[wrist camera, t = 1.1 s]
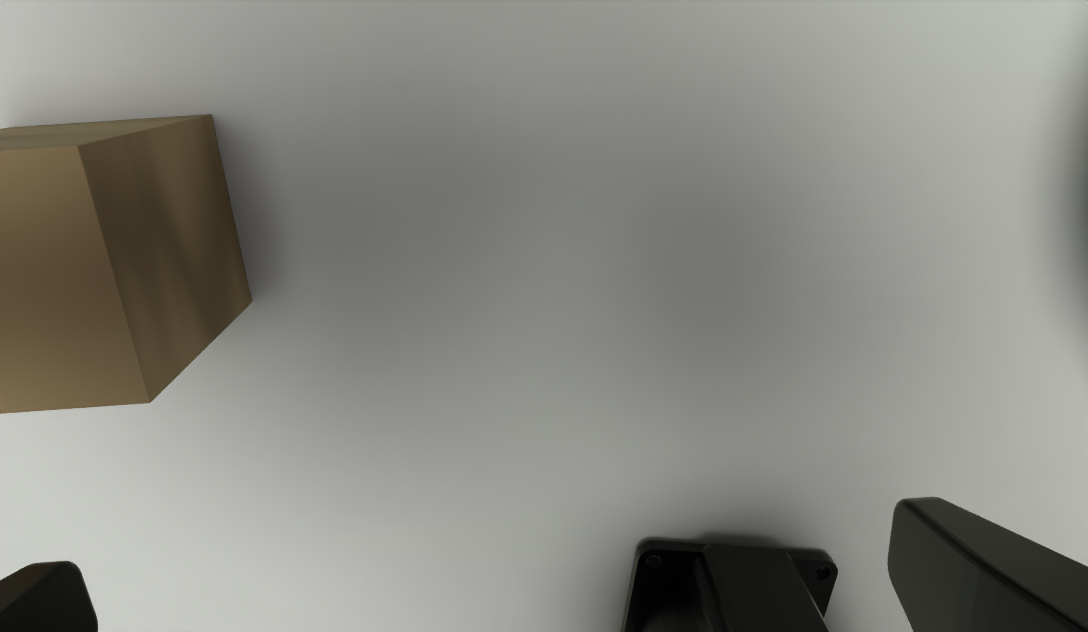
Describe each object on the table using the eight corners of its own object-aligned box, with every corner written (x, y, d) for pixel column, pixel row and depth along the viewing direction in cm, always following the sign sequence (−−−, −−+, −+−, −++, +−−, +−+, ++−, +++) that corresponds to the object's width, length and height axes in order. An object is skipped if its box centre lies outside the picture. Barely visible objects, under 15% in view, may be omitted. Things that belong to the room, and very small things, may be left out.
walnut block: (252, 301, 20) (150, 403, 14) (69, 314, 20) (-106, 421, 14) (211, 114, 18) (77, 145, 13) (11, 127, 18) (-216, 165, 12)
